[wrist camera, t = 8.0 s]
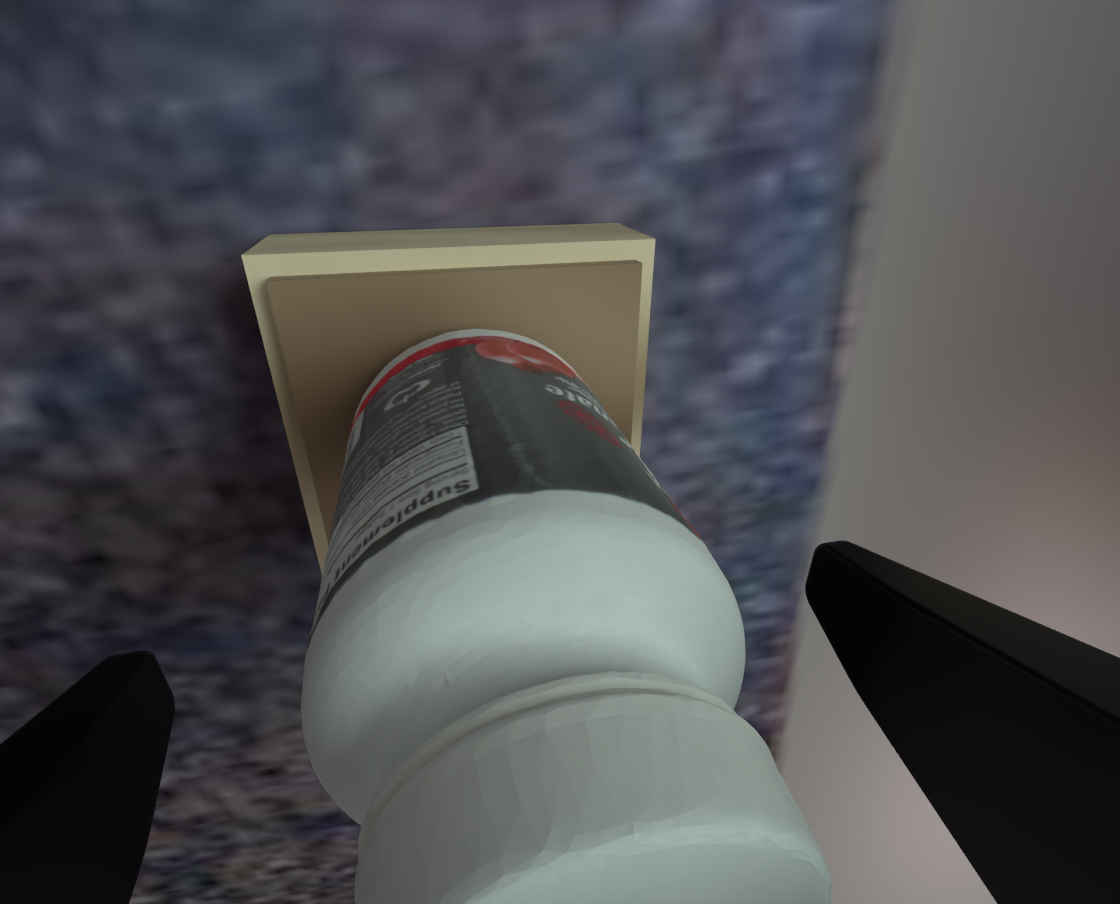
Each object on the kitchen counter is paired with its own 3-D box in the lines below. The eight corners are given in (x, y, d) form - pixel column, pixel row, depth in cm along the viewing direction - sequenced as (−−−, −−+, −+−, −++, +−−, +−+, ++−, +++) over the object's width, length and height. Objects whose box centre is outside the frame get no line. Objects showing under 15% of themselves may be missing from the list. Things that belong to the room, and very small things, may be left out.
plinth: (605, 495, 18) (638, 554, 16) (337, 530, 17) (324, 602, 14) (617, 222, 14) (662, 242, 12) (269, 234, 13) (235, 259, 10)
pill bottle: (640, 421, 14) (1006, 870, 5) (490, 573, 15) (600, 1141, 6) (461, 263, 11) (630, 649, 3) (296, 460, 12) (62, 1161, 4)
